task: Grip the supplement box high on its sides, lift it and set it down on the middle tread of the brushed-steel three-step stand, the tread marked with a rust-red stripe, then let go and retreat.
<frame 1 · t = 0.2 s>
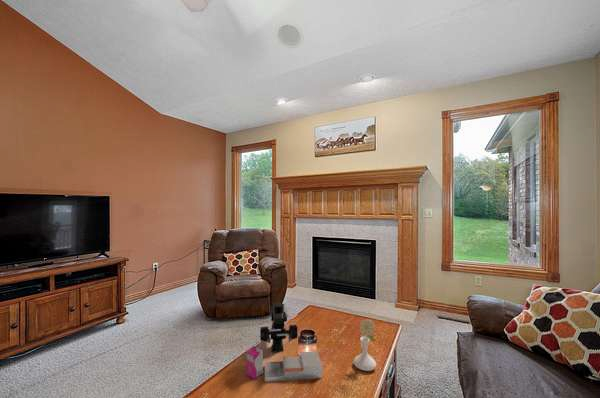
hand: (279, 341, 125), 17 cm above the table, tool horizontal, fingers open, 9 cm apart
flower in vase: (365, 367, 133), on the table
step stand: (292, 371, 129), on the table
supplement box: (254, 374, 126), on the table
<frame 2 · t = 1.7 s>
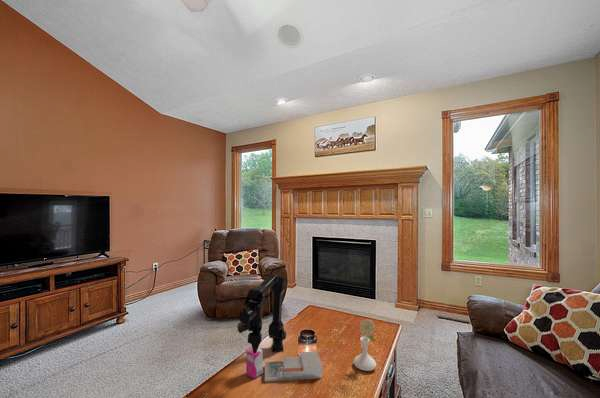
hand: (255, 348, 127), 12 cm above the table, tool pointing down, fingers open, 9 cm apart
nothing on the table moved.
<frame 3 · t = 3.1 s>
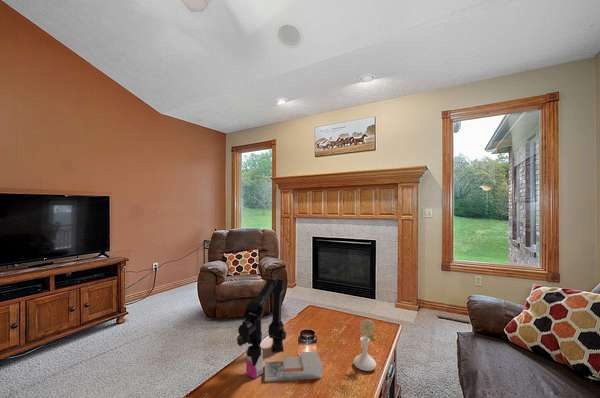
hand: (254, 360, 127), 7 cm above the table, tool pointing down, fingers closed on supplement box, 8 cm apart
supplement box: (254, 374, 126), on the table, touching gripper
everything else where it was.
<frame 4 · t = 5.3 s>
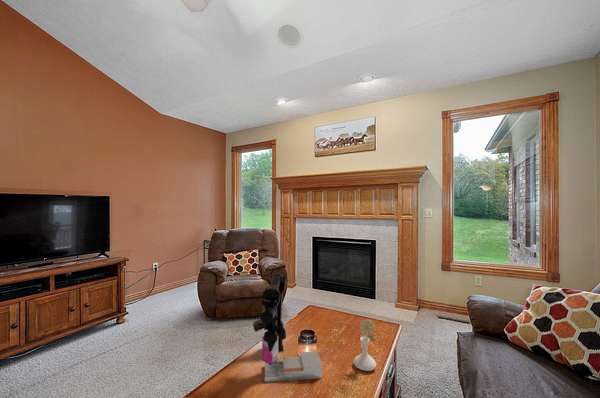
hand: (270, 346, 128), 13 cm above the table, tool pointing down, fingers closed on supplement box, 8 cm apart
supplement box: (270, 360, 128), point 6 cm above the table, touching gripper
everything else where it was.
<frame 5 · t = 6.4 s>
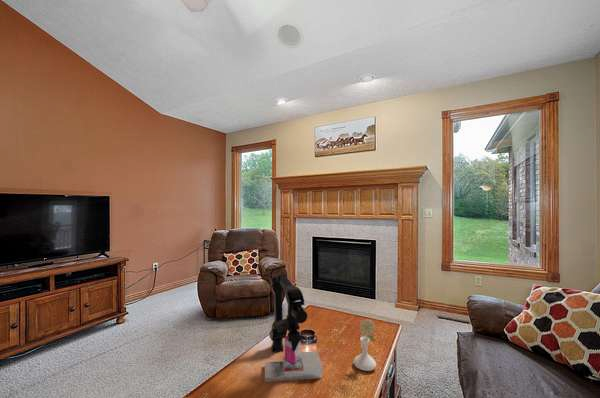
hand: (292, 346, 129), 12 cm above the table, tool pointing down, fingers closed on supplement box, 8 cm apart
supplement box: (292, 360, 129), point 5 cm above the table, touching gripper
everything else where it was.
when the fingers open (12 cm above the table, at t = 7.4 s): supplement box drops 1 cm, resting on step stand.
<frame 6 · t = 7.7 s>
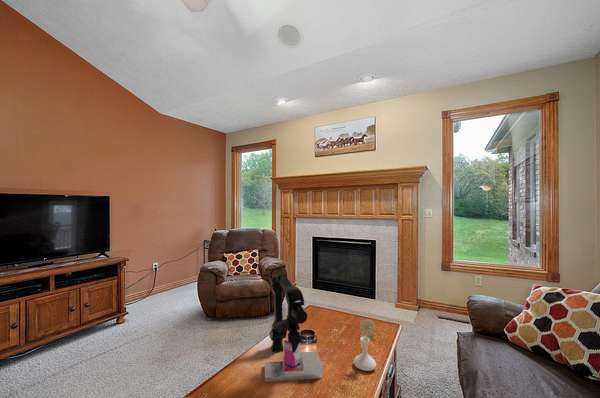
hand: (292, 347, 129), 12 cm above the table, tool pointing down, fingers open, 9 cm apart
supplement box: (292, 363, 129), point 4 cm above the table, touching step stand
everything else where it was.
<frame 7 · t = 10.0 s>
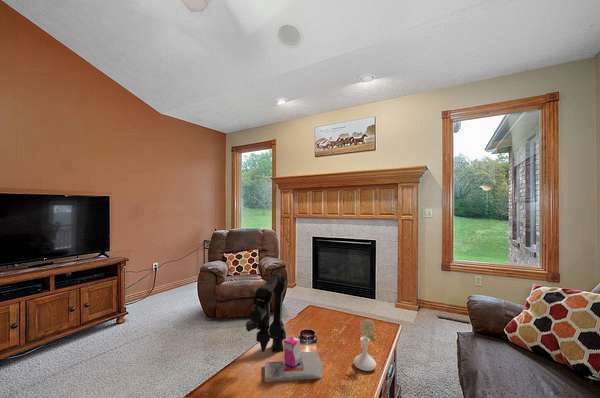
hand: (263, 346, 127), 13 cm above the table, tool pointing down, fingers open, 9 cm apart
nothing on the table moved.
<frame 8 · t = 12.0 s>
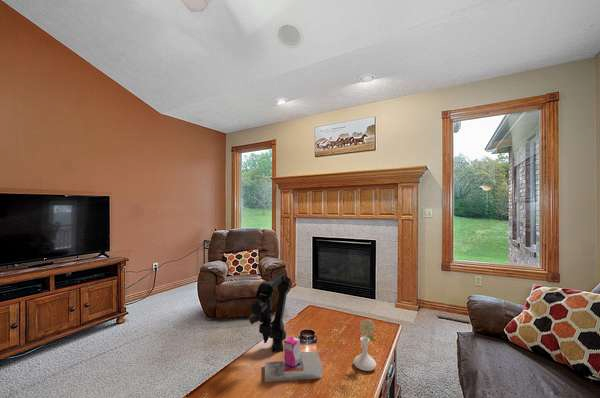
hand: (265, 338, 135), 13 cm above the table, tool pointing down, fingers open, 9 cm apart
nothing on the table moved.
at the end: supplement box inside the target area on the step stand (0.1 cm from its centre), point 3.9 cm above the step stand's base; supplement box tilted 2°; the gripper is holding nothing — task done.
